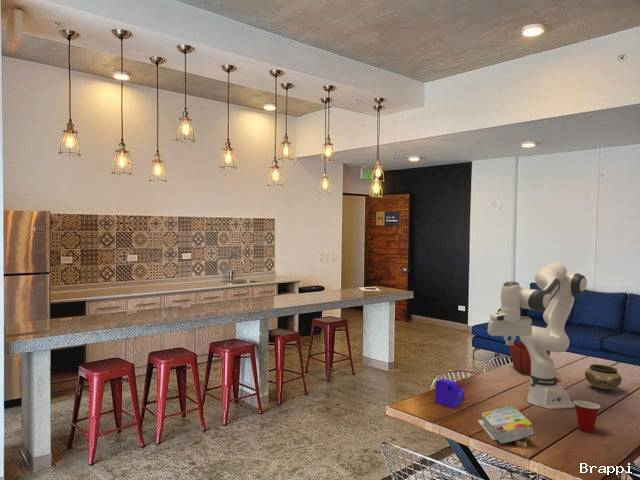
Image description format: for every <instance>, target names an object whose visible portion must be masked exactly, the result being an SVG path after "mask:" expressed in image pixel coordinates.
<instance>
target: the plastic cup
mask: <svg viewBox="0 0 640 480" xmlns="http://www.w3.org/2000/svg"><path fill="white" fill-rule="evenodd" d="M573 403H574V406H575V407H574V409H575V413H576V421H577V425H578V426H577V427H578V429H579V431H582V432H586V433H593V432H594V430H595V426H596V422H597V418H598V415H599V412H600V409H601V405H599V404H598V403H595V402H591V401H585V400H574V401H573Z"/></svg>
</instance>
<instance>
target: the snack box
mask: <svg viewBox="0 0 640 480" xmlns="http://www.w3.org/2000/svg"><path fill="white" fill-rule="evenodd" d="M481 418H482V420H483V422H484V424H485V425H486V426H487V428H488V429H489V430H490V431H491V432H492V434H493V435H494V436H495V437H496V438H497V440H496V441H498V442H499V443H500V444H501V445H502V444H507V443H509V442H510V443H511V442H514V440H518V439H522V438H526V439H527V438H528V437H529V438H530V437H533V436H536V433H535V429H534V425H533V423H532V422H531V421H530V420H529V419H528V417H527V418H526V416H524V414H522V412H520V410H518V409H517V408H516V407H515V405H512V404H510V405H507V406H502V407H500V408H499V407H498V408H495V409H492V410H487V411H484V412H481Z"/></svg>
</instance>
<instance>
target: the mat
mask: <svg viewBox="0 0 640 480" xmlns="http://www.w3.org/2000/svg"><path fill="white" fill-rule="evenodd" d="M477 422H478V423H479V424H480V425H479V426H481V427H482V428H483V430H484V431H485V432H486V433H487V434H488V436H489V437H490V438H491V440H492V441H498V440H497V438H496V437H495V436H494V435H493V434H492V432H491V431H490V430H489V429H488V428H487V426H486V425H485V424H484V422H483V419H482V420H481V419H478V420H477Z"/></svg>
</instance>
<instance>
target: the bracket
mask: <svg viewBox="0 0 640 480" xmlns="http://www.w3.org/2000/svg"><path fill="white" fill-rule="evenodd" d="M434 390H435V396H434V403H437V404H440V405H442V406H446V407H448V408H453V409H455V408H457V407H459V406H460V405H461V403H462V402H463V401H464V399H465V392H466V391H465V389H464V388H460V385H459V383H458V382H457V381H454V380H450V379H446V378H441V379H439V380H436V381H435V389H434Z"/></svg>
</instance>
